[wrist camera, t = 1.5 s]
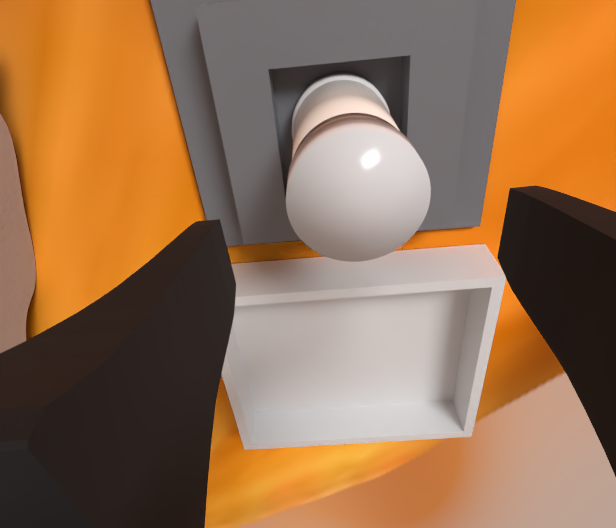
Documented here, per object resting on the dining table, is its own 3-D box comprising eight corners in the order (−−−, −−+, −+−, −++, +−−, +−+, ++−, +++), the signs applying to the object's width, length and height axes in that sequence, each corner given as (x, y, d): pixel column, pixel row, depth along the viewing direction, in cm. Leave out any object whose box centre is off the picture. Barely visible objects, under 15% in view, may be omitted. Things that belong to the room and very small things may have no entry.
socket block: (521, -65, 16) (547, -69, 14) (477, 222, 22) (490, 242, 21) (147, -23, 16) (130, -23, 15) (214, 243, 23) (207, 264, 21)
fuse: (387, 66, 18) (436, 123, 11) (385, 162, 20) (425, 256, 13) (287, 76, 18) (276, 137, 11) (297, 170, 20) (294, 266, 14)
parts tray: (485, 243, 23) (506, 276, 21) (458, 399, 31) (471, 436, 28) (209, 265, 24) (198, 299, 21) (249, 412, 31) (244, 450, 29)
